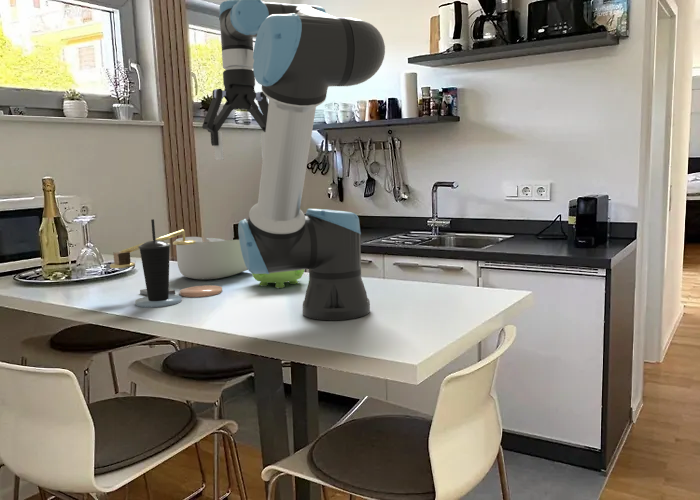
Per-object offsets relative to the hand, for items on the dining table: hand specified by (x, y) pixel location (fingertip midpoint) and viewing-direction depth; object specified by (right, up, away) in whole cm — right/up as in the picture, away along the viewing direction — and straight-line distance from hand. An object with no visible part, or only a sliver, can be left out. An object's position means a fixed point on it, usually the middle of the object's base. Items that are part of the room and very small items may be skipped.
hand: (243, 159), depth 153 cm
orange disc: (-13, -34, +13) cm, 39 cm away
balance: (-25, -34, +13) cm, 44 cm away
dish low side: (-22, -35, +3) cm, 42 cm away
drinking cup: (-22, -35, +3) cm, 41 cm away
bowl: (-16, -30, +37) cm, 51 cm away
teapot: (+5, -32, +22) cm, 39 cm away
